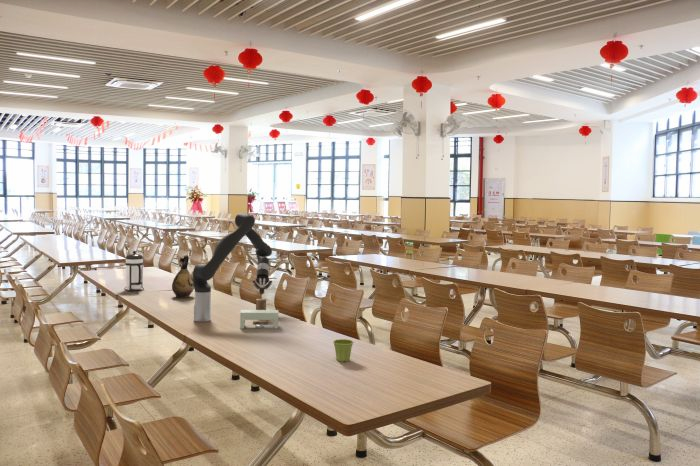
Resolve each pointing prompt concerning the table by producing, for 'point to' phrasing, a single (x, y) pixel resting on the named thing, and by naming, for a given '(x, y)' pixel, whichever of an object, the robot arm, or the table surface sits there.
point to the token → (259, 325)
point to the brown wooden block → (260, 306)
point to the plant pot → (343, 349)
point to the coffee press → (134, 271)
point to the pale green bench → (258, 316)
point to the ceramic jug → (183, 280)
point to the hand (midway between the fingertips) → (261, 293)
